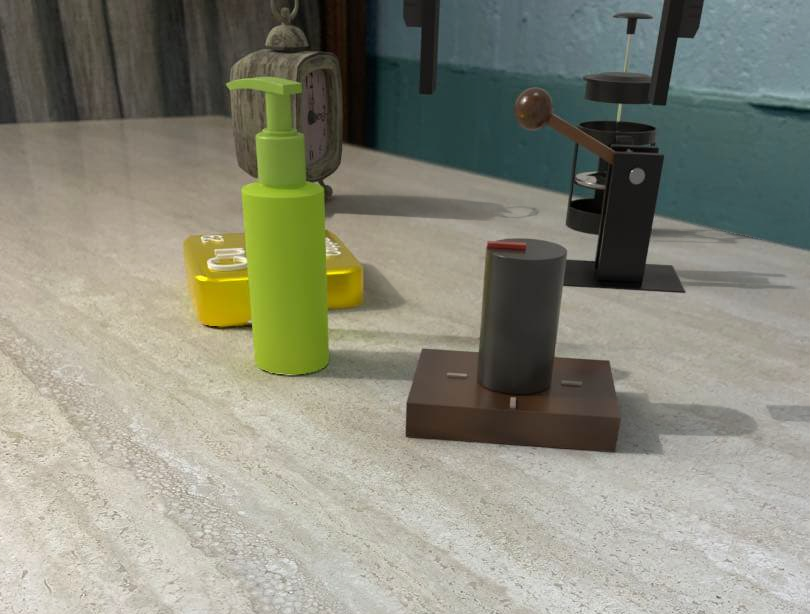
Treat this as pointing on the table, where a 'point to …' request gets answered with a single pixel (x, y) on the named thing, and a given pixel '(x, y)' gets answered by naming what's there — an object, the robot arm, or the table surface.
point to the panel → (513, 405)
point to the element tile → (229, 285)
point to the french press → (609, 132)
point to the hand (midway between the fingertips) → (540, 98)
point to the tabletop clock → (292, 100)
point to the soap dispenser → (285, 242)
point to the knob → (520, 314)
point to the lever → (554, 121)
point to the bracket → (626, 228)
